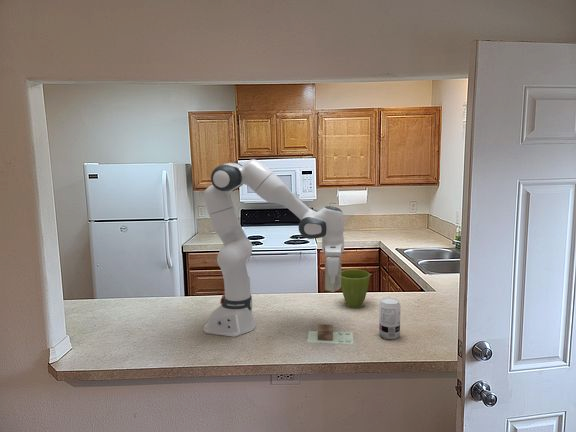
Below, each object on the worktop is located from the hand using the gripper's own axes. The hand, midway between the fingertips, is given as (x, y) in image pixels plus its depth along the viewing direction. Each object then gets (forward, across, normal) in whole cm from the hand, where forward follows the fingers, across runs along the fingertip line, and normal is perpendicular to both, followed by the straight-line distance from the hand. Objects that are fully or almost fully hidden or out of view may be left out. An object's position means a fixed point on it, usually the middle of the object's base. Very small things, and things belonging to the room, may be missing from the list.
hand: (332, 279), depth 166 cm
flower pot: (+24, -31, +11) cm, 40 cm away
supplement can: (+23, +1, +23) cm, 33 cm away
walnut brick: (+22, +7, -3) cm, 23 cm away
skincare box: (+4, 0, 0) cm, 5 cm away
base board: (+24, +7, -1) cm, 25 cm away
